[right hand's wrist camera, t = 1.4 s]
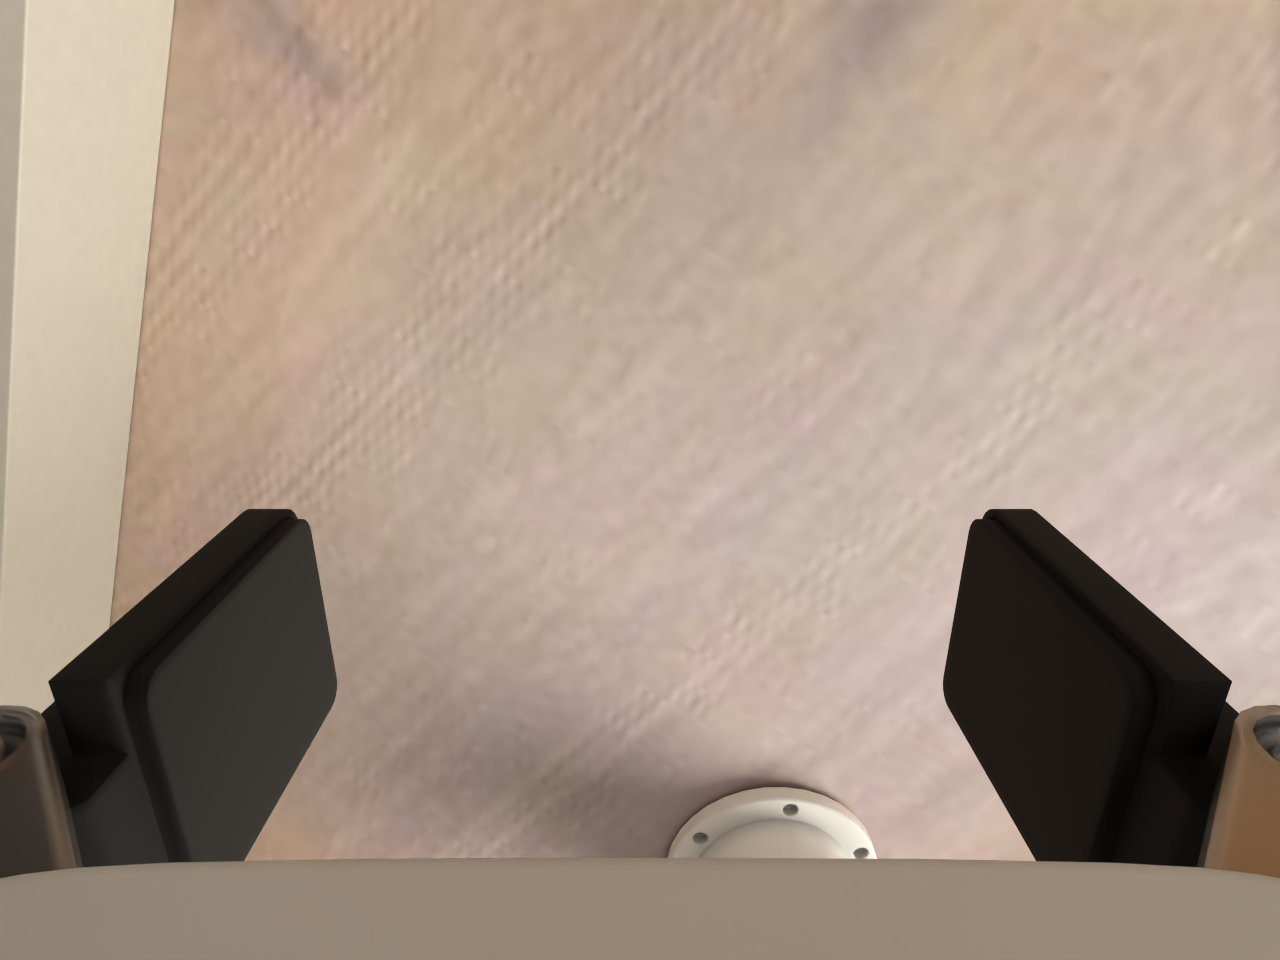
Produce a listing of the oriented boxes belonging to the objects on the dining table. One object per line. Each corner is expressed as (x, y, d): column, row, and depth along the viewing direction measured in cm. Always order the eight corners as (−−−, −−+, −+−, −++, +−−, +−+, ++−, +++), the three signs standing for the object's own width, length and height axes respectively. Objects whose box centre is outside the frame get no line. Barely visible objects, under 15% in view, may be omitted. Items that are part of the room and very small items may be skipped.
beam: (87, 847, 47) (-15, 973, 40) (4, 828, 46) (-114, 952, 39) (200, -241, 28) (44, -386, 20) (61, -298, 27) (-152, -469, 20)
